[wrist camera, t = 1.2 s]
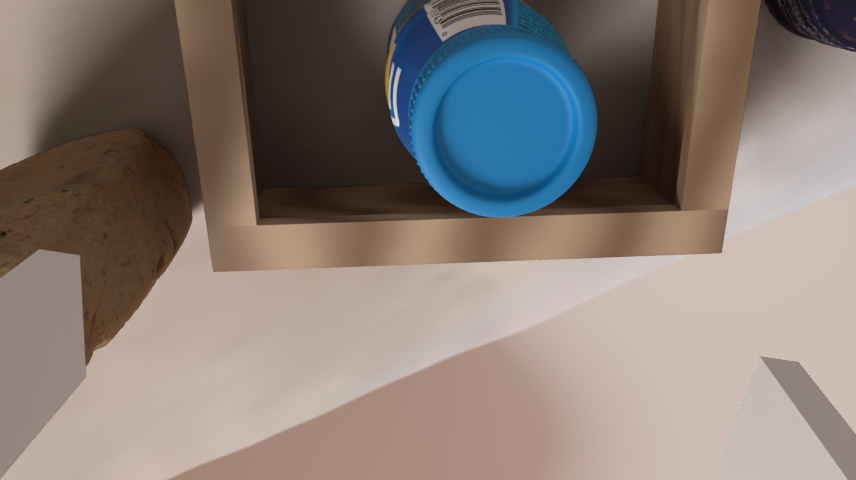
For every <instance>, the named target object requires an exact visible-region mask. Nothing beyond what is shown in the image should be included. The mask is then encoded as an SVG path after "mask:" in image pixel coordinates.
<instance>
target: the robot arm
mask: <svg viewBox="0 0 856 480" xmlns="http://www.w3.org/2000/svg"><path fill="white" fill-rule="evenodd" d="M85 377H86V364H85V345H84V326H83V307H82V288H81V269H80V255H75V254H68V253H61V252H55V251H48V250H41V249H39V250H38V251H36V252H35V253H34V254H32V255H31V256H30V257H28V258H27V259H26V260H24V261H23V262H22V263H20V264H19V265H18V266H16V267H15V268H14V269H12V270H11V271H10V272H8V273H7V274H6V275H4V276H3V277H2V278H0V479H1V478H2V476H3V475H4V474H5V473H6V472H7V470H8V469H9V468H10V467H11V466H12V464H13V463H14V462H15V461H16V460H17V458H18V457H19V456H20V455H21V454H22V453H23V451H24V450H25V449H26V448H27V447H28V445H29V444H30V443H31V442H32V441H33V439H34V438H35V437H36V436H37V435H38V433H39V432H40V431H41V430H42V429H43V427H44V426H45V425H46V424H47V423H48V422H49V420H50V419H51V418H52V417H53V416H54V414H55V413H56V412H57V411H58V410H59V408H60V407H61V406H62V405H63V404H64V402H65V401H66V400H67V399H68V398H69V396H70V395H71V394H72V393H73V392H74V391H75V389H76V388H77V387H78V386H79V385H80V383H81V382H82V381H83V380H84V379H85ZM716 468H717V471H718V473H719V475H720V477H721V479H722V480H856V434H855V433H854V431H853V430H852V429H851V428H850V427H849V425H848V424H847V423H846V421H845V420H844V419H843V418H842V416H841V415H840V414H839V413H838V411H837V410H836V409H835V408H834V406H833V405H832V404H831V402H830V401H829V400H828V399H827V397H826V396H825V395H824V394H823V393H822V391H821V390H820V389H819V387H818V386H817V385H816V384H815V382H814V381H813V380H812V379H811V377H810V376H809V375H808V373H807V372H806V371H805V370H804V369H803V367H802V366H801V365H800V363H799V362H794V361H787V360H781V359H774V358H767V357H761V356H760V357H759V360H758V362H757V365H756V368H755V370H754V372H753V375H752V378H751V380H750V383H749V385H748V388H747V390H746V393H745V395H744V398H743V400H742V403H741V406H740V408H739V411H738V413H737V416H736V418H735V421H734V423H733V426H732V429H731V431H730V434H729V437H728V439H727V441H726V444H725V447H724V449H723V452H722V454H721V457H720V460H719V462H718V465H717V467H716Z"/></svg>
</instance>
